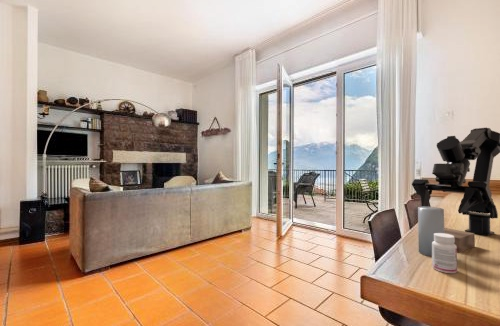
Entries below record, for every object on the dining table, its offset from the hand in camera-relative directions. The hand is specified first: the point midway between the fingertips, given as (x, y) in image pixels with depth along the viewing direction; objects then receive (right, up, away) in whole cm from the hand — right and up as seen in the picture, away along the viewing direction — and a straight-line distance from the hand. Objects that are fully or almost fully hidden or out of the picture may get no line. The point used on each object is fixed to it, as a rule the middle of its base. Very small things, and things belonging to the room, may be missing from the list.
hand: (440, 209), depth 72 cm
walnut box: (+6, -12, +4) cm, 14 cm away
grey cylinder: (-5, -12, -3) cm, 13 cm away
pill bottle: (-9, -12, -13) cm, 21 cm away
